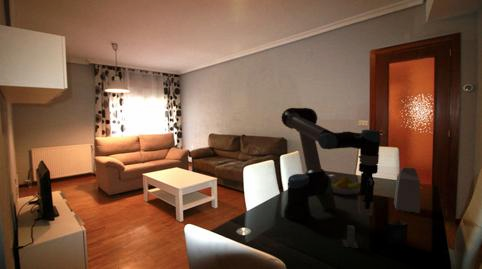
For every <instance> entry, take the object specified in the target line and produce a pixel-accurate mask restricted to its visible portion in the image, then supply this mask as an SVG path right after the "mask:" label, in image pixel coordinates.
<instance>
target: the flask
mask: <svg viewBox="0 0 482 269" xmlns="http://www.w3.org/2000/svg"><path fill="white" fill-rule="evenodd" d="M408 225H409V224H408V223H407V222H406V221H401V220H400V219H396V221H394V222H392V221H390V222H387V234H386V235H387V237H386V242H387V243H388V244H392V245H399V244H401V245H402V244H406V243H407V242H408Z"/></svg>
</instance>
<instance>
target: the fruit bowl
mask: <svg viewBox="0 0 482 269" xmlns="http://www.w3.org/2000/svg"><path fill="white" fill-rule="evenodd" d="M331 183H332V185H331V188H333V189H332V190H333V194H338V195H343V196H350V195H358V193H360V185H361V182H356V181H355V182H354V181H352V179H350V178H349V177H348V176H345V175H344V176H342V177H340V178H339V179H331Z"/></svg>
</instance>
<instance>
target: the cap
mask: <svg viewBox="0 0 482 269" xmlns="http://www.w3.org/2000/svg"><path fill="white" fill-rule="evenodd" d="M363 200H365V195H361V194H357V210H356V211H357V212H358V215H360V216H364V215H363V206H364V201H363ZM373 211H374V201H373V202H371V206H370V216H368V215H366V216H368V217H373Z"/></svg>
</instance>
